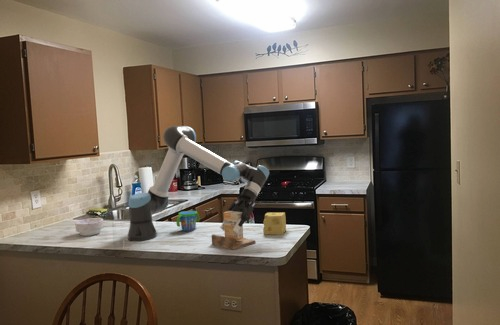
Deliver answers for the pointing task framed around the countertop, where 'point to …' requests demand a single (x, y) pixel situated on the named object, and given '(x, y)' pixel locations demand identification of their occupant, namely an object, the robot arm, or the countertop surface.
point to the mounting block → (230, 242)
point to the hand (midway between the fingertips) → (228, 230)
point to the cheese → (274, 223)
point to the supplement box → (232, 224)
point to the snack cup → (187, 220)
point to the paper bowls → (89, 226)
